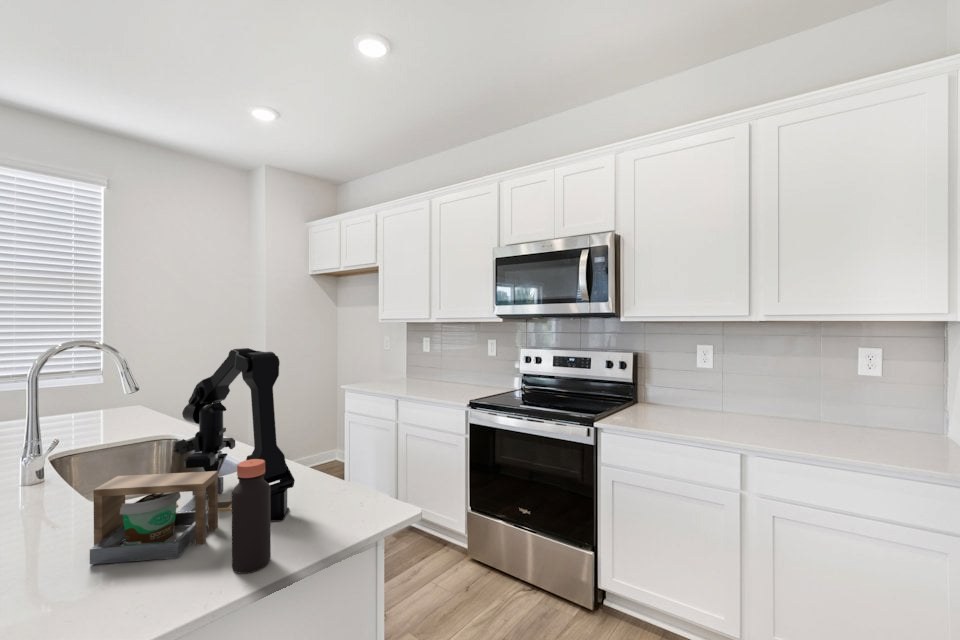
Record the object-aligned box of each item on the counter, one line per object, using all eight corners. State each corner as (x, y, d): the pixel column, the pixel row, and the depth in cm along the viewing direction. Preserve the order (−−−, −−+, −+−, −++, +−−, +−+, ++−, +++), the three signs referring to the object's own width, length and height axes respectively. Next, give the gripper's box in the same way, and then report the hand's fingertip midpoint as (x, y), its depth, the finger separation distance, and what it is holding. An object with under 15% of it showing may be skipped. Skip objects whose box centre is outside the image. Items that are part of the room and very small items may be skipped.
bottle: (246, 554, 93) (246, 456, 93) (277, 556, 92) (277, 458, 92) (223, 572, 86) (223, 467, 86) (256, 575, 85) (256, 469, 85)
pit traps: (236, 502, 119) (236, 500, 119) (229, 510, 114) (229, 508, 114) (156, 507, 116) (156, 505, 116) (145, 515, 111) (145, 513, 111)
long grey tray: (240, 490, 126) (240, 475, 126) (177, 557, 91) (177, 537, 91) (178, 493, 124) (178, 479, 124) (89, 564, 88) (89, 544, 88)
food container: (144, 556, 92) (144, 506, 92) (119, 552, 93) (119, 504, 93) (194, 528, 104) (194, 484, 104) (171, 525, 105) (171, 482, 105)
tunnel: (218, 527, 105) (217, 471, 105) (203, 544, 97) (202, 483, 97) (117, 534, 101) (117, 476, 101) (93, 552, 93) (93, 489, 93)
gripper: (195, 419, 134) (195, 472, 134) (161, 436, 115) (162, 498, 116) (235, 418, 136) (236, 470, 136) (209, 435, 117) (209, 495, 117)
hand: (211, 482), depth 126 cm, fingers closed
